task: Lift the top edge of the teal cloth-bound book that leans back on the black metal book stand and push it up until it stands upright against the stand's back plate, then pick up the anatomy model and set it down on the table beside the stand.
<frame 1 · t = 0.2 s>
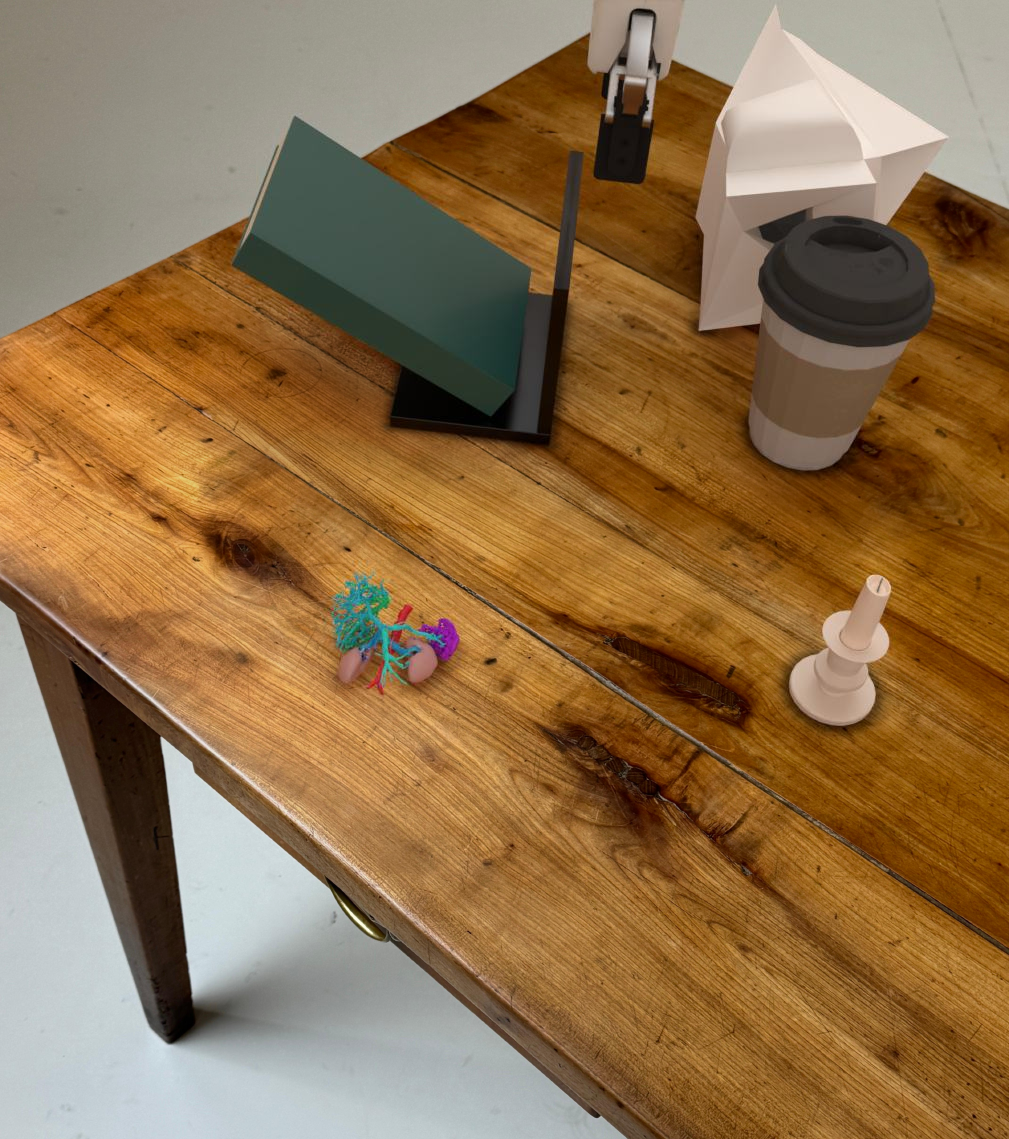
hand: (621, 138, 83), 17 cm above the table, tool pointing down, fingers open, 9 cm apart
book stand: (486, 364, 95), on the table
book: (393, 267, 89), point 7 cm above the table, hinge at 30.0°
anatomy model: (386, 667, 77), on the table
coffee cup: (796, 438, 92), on the table
folded paper: (772, 258, 106), on the table
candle: (829, 693, 78), on the table
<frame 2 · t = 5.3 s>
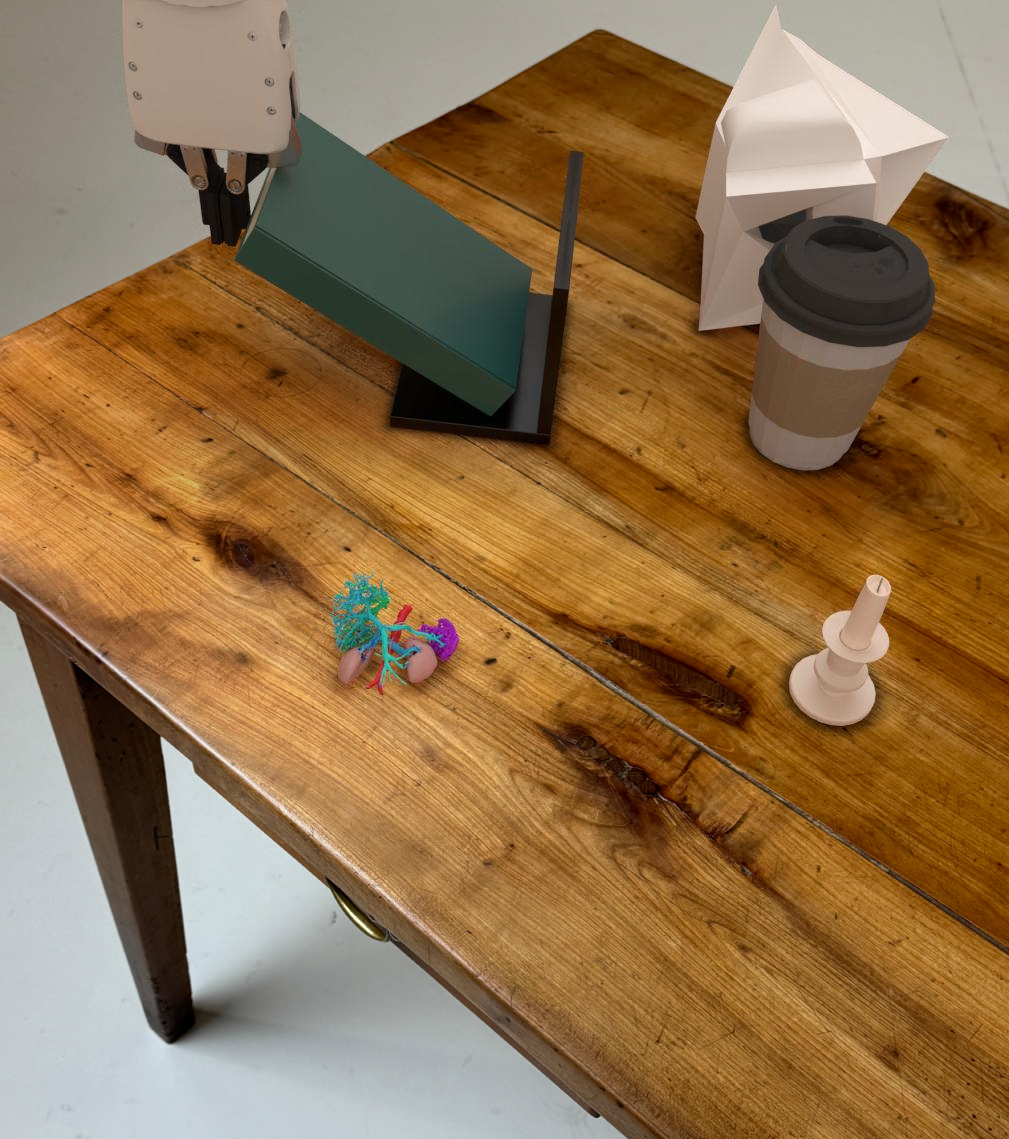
hand: (228, 233, 88), 9 cm above the table, tool pointing down, fingers closed
book: (395, 265, 89), point 8 cm above the table, hinge at 31.3°, touching gripper
everything else where it was.
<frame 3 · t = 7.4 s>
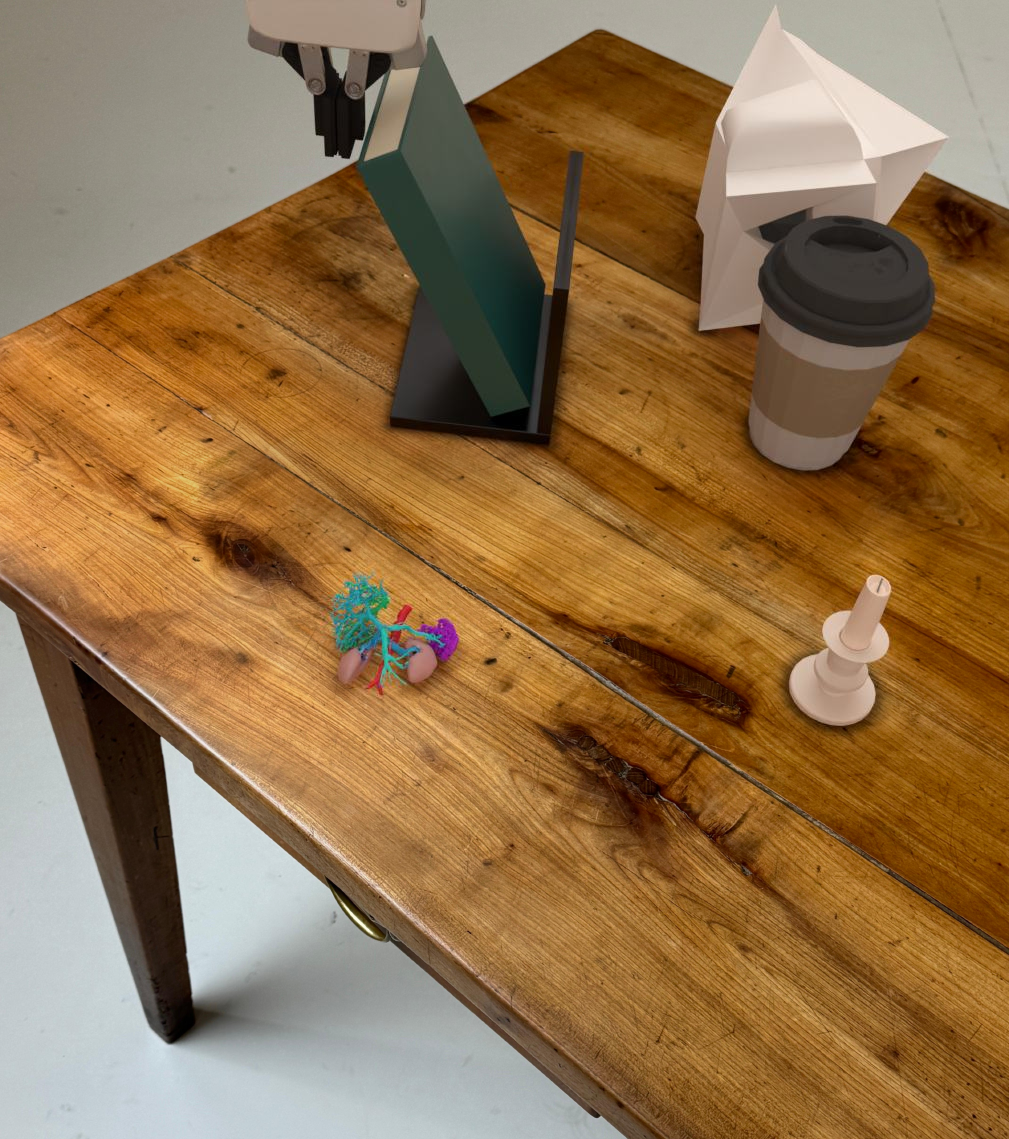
hand: (341, 146, 82), 16 cm above the table, tool pointing down, fingers closed
book: (462, 233, 86), point 11 cm above the table, hinge at 63.0°, touching gripper
everything else where it was.
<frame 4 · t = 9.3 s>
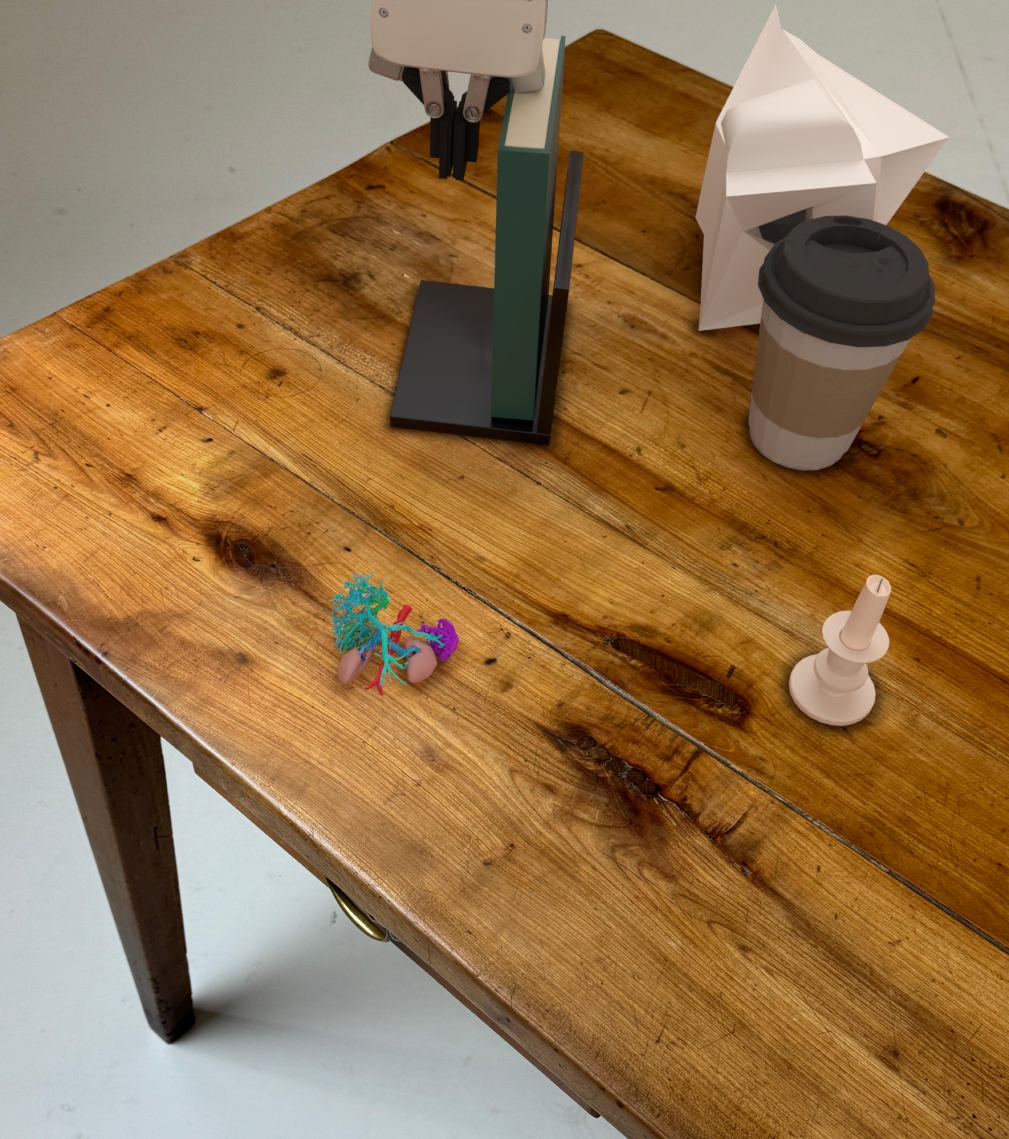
hand: (453, 167, 83), 15 cm above the table, tool pointing down, fingers closed
book: (526, 234, 86), point 11 cm above the table, hinge at 87.7°, touching gripper
everything else where it was.
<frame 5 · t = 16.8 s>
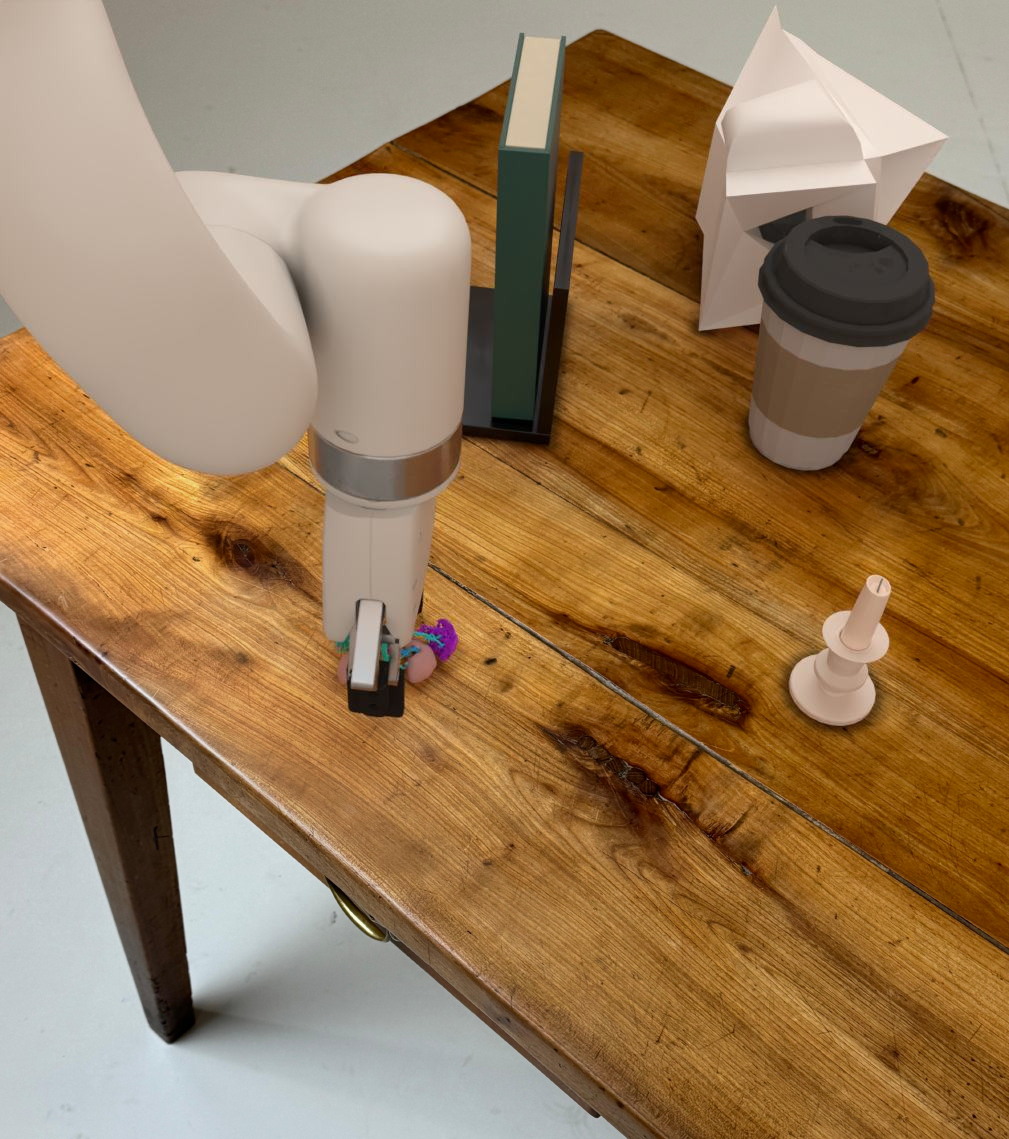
hand: (386, 657, 76), 1 cm above the table, tool pointing down, fingers closed on anatomy model, 7 cm apart
book: (526, 234, 86), point 11 cm above the table, hinge at 87.8°
anatomy model: (385, 668, 77), on the table, touching gripper
everything else where it was.
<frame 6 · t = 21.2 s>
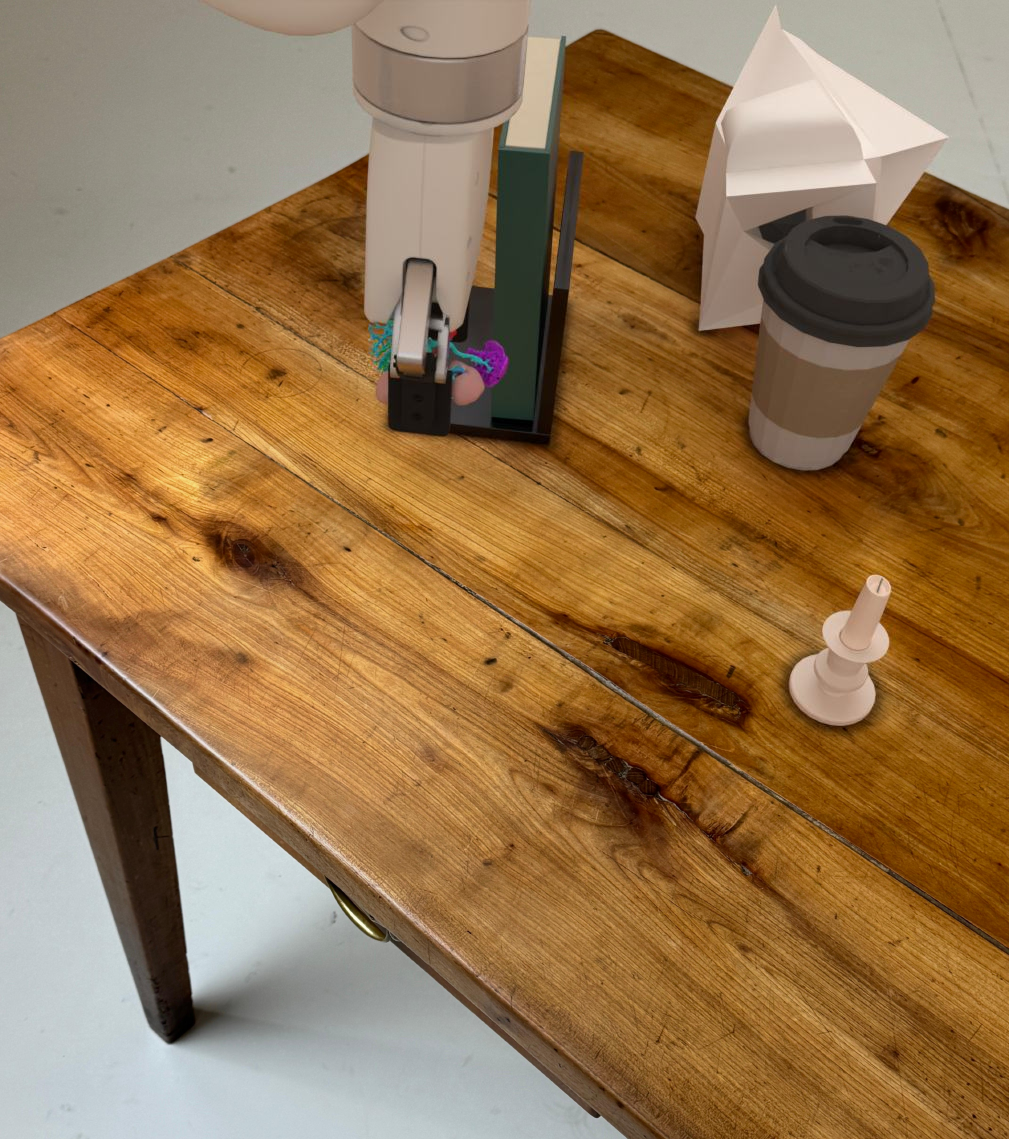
hand: (429, 380, 69), 16 cm above the table, tool pointing down, fingers closed on anatomy model, 7 cm apart
anatomy model: (427, 395, 70), point 15 cm above the table, touching gripper
everything else where it was.
when the fingers open (1 cm above the table, at t = 25.4 s): anatomy model stays where it is, on the table.
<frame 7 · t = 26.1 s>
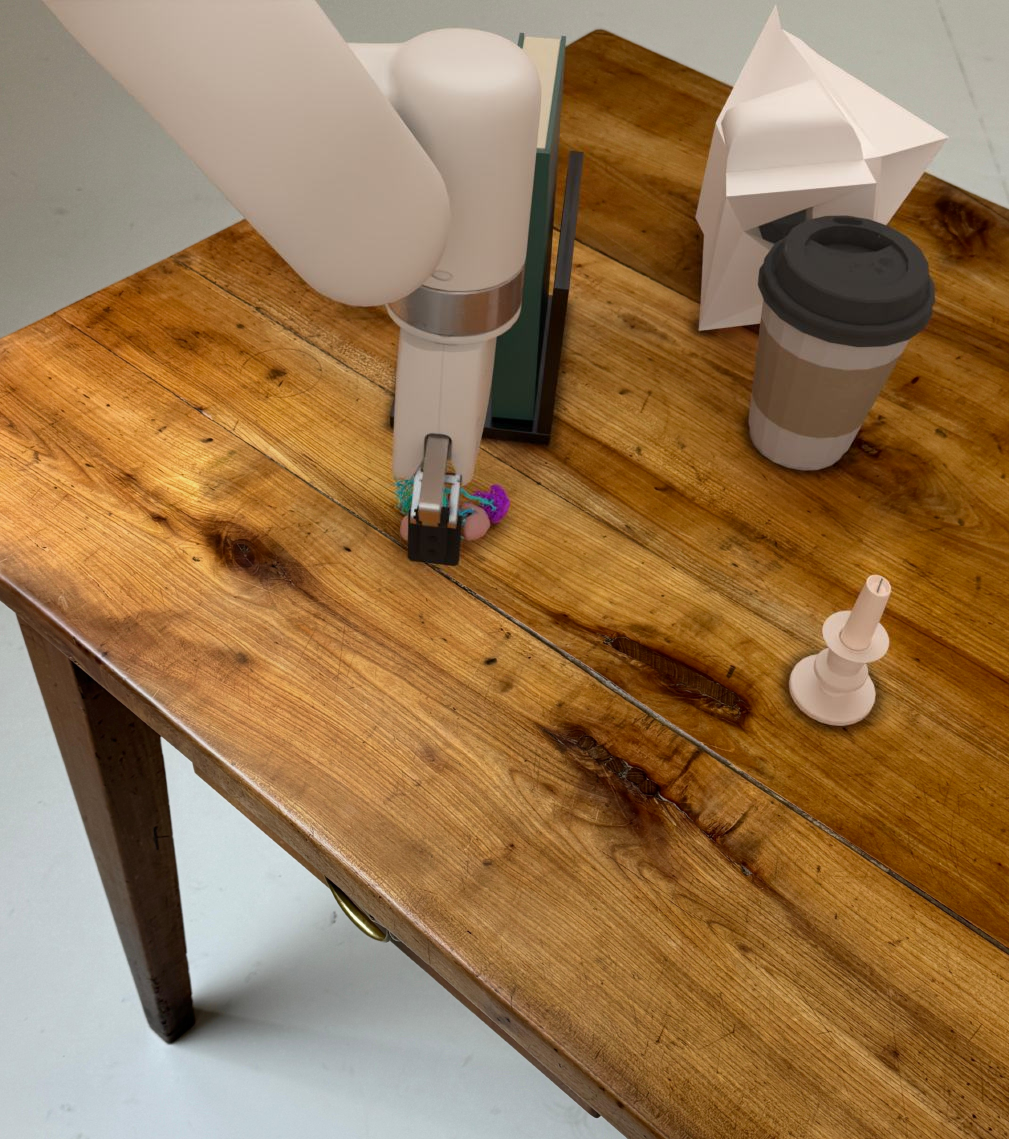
hand: (443, 505, 83), 2 cm above the table, tool pointing down, fingers open, 9 cm apart
anatomy model: (443, 530, 84), on the table
everything else where it was.
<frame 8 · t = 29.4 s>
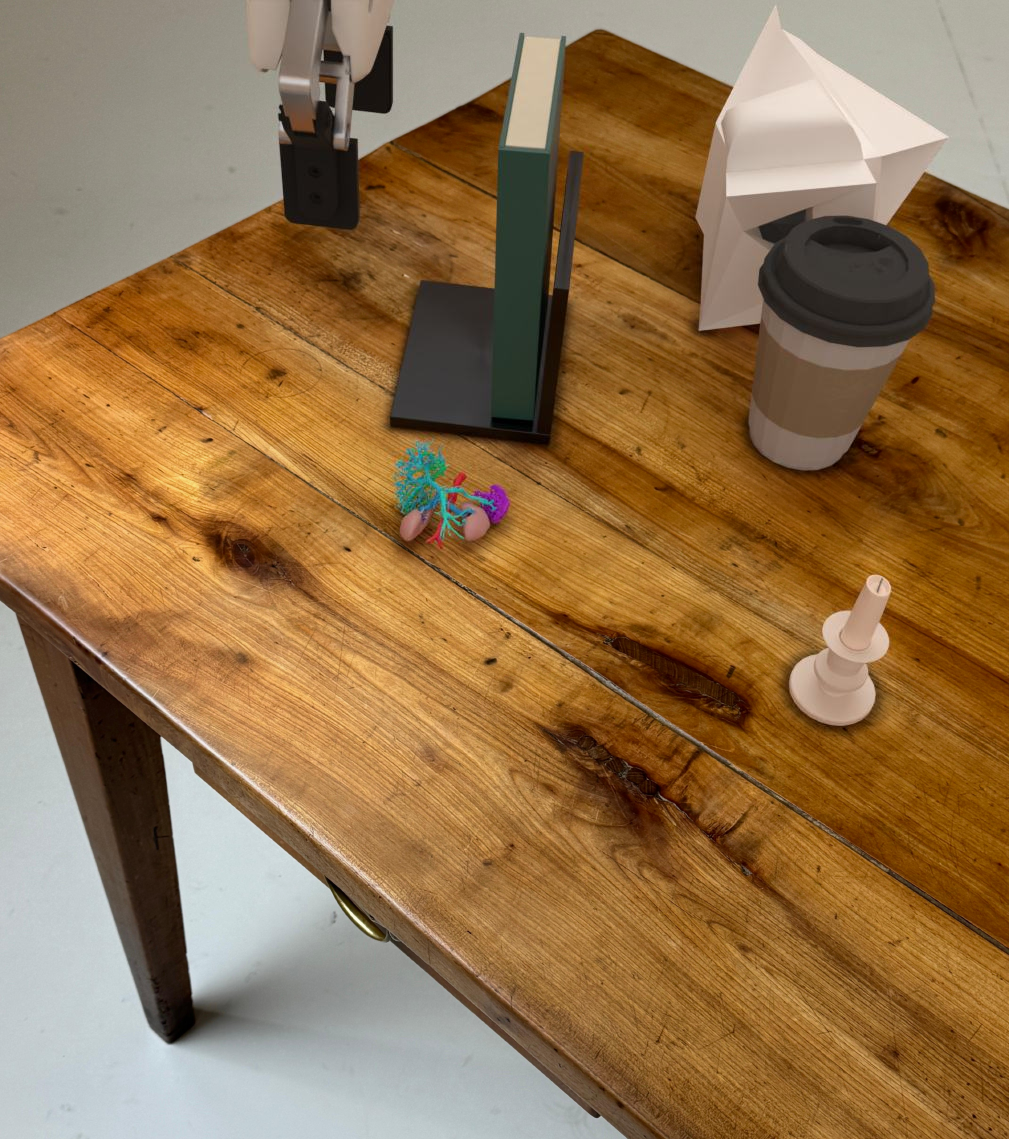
hand: (341, 162, 59), 28 cm above the table, tool pointing down, fingers open, 9 cm apart
nothing on the table moved.
at the end: book at +88° (first picture: +30°); anatomy model inside the target area on the table beside the book stand (0.1 cm from its centre), on the table; anatomy model on the table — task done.
